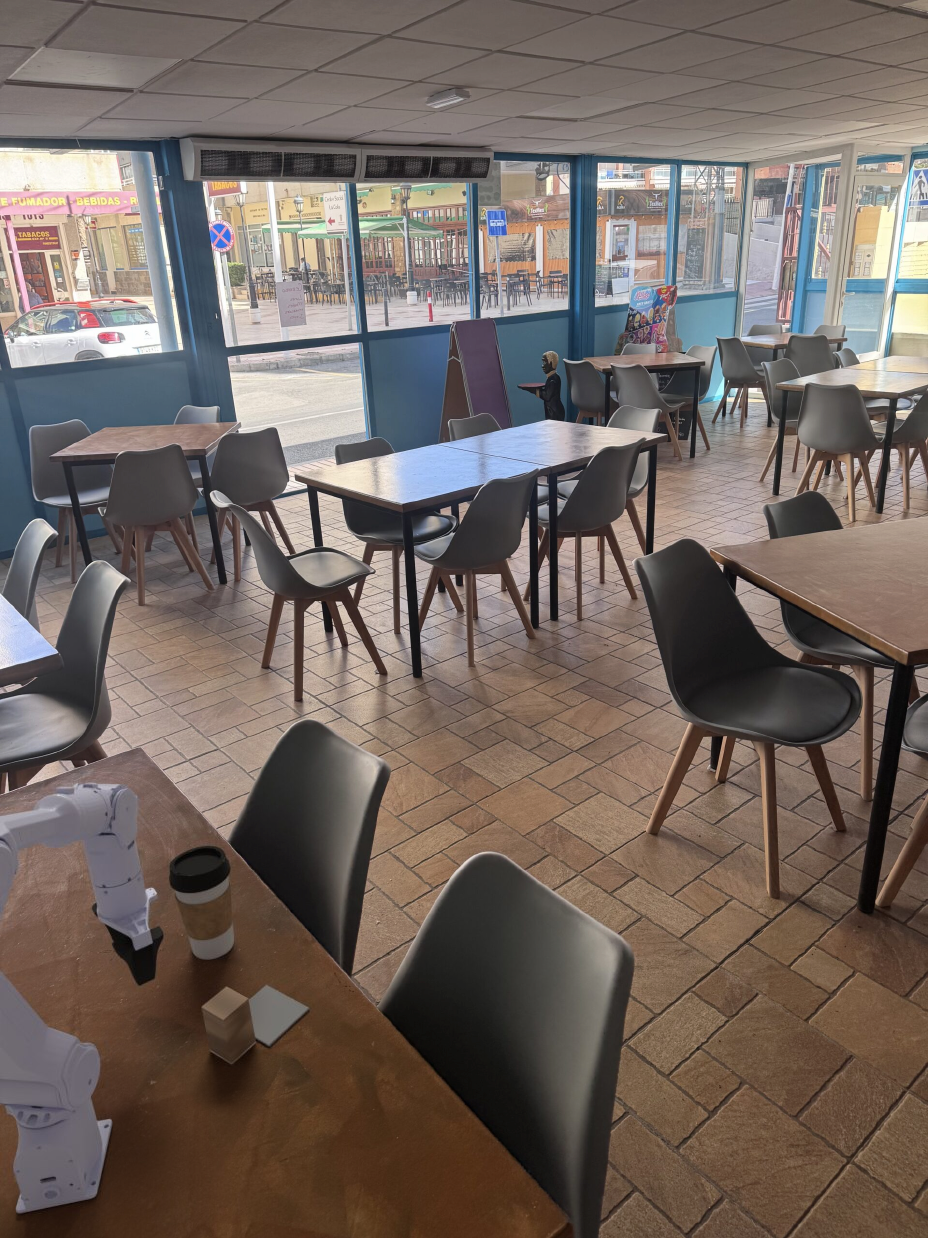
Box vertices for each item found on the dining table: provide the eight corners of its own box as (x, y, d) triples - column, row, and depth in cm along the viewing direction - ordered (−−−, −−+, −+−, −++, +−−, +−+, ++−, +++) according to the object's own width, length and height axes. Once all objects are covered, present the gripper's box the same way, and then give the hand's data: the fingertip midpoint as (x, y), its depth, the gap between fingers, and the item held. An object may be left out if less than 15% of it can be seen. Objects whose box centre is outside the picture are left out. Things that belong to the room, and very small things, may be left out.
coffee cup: (171, 956, 127) (152, 868, 122) (212, 920, 134) (196, 836, 128) (214, 973, 123) (197, 883, 118) (254, 935, 130) (240, 849, 125)
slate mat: (269, 1047, 110) (268, 1045, 110) (226, 1021, 114) (225, 1019, 114) (309, 1009, 115) (309, 1007, 115) (266, 986, 120) (266, 985, 120)
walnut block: (231, 1064, 108) (223, 1020, 105) (210, 1051, 110) (201, 1007, 107) (256, 1042, 111) (248, 998, 108) (234, 1029, 113) (226, 986, 110)
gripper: (169, 888, 103) (187, 981, 108) (131, 836, 114) (149, 922, 119) (107, 913, 99) (129, 1009, 104) (74, 857, 110) (95, 945, 115)
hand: (136, 964), depth 111 cm, fingers open, 7 cm apart
